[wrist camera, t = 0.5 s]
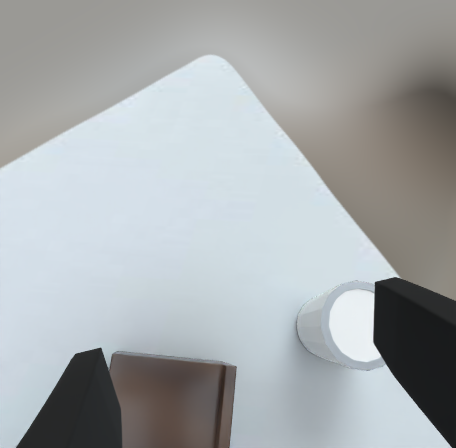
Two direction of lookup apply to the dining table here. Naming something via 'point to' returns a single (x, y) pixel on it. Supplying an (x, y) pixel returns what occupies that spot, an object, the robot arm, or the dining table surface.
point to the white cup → (341, 326)
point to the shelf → (173, 400)
